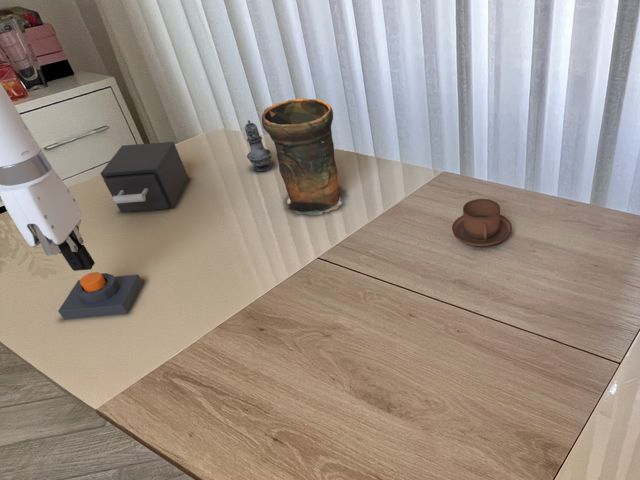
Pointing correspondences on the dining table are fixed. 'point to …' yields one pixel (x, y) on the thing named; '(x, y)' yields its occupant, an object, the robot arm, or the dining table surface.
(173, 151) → the small drawer cabinet
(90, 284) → the button
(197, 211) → the dining table surface
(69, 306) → the control block
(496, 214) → the cup and saucer
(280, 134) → the vessel
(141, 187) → the dark grey drawer
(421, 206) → the dining table surface
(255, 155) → the grey chess piece
